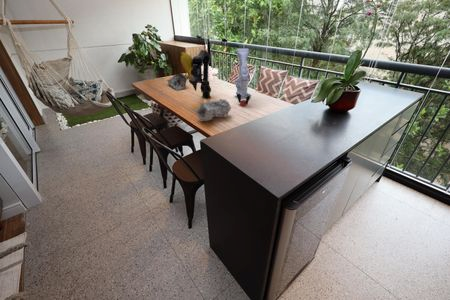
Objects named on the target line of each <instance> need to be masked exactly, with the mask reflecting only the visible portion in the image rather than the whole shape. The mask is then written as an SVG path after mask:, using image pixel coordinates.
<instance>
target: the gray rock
mask: <svg viewBox="0 0 450 300" xmlns="http://www.w3.org/2000/svg"><path fill="white" fill-rule="evenodd" d="M187 81H188V78H187V77H186V76H185V74H183V73H181V72H179V73H178V72H177V73H176V74H173V76H172V77H171V78H169V79H167V80H166V82H167V84H168V85H169V86H170V87H172V89H174V90H176V91H178V90H179V91H181V90H183V89H184V88H186V87H187V85H186V84H187Z"/></svg>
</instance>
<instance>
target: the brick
mask: <svg viewBox="0 0 450 300" xmlns="http://www.w3.org/2000/svg"><path fill="white" fill-rule="evenodd" d="M239 106H240V107H246V106H247V105H246V99H241V101H240V103H239Z"/></svg>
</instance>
